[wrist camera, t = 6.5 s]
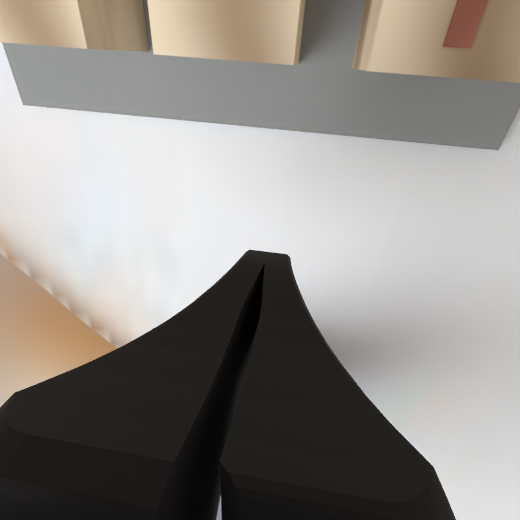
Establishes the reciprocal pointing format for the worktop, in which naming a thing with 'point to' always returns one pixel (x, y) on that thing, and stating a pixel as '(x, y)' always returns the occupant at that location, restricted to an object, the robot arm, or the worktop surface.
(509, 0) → the block one
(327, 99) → the slate mat
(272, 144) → the worktop surface
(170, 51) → the plain block
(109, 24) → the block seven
